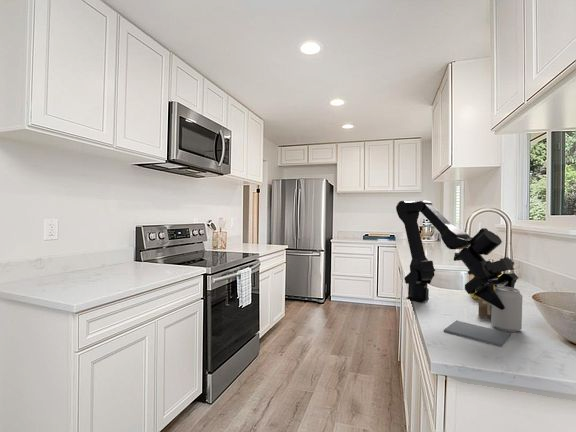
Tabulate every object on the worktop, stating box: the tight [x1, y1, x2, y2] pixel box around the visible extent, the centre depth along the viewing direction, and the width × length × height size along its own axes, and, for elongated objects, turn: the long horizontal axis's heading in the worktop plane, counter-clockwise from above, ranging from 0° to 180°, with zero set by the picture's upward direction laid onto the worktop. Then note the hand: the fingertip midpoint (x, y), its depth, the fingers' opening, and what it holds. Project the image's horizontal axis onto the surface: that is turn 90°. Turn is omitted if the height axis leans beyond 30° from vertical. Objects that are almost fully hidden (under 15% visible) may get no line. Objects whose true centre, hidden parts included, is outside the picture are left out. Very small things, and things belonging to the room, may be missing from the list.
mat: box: [443, 319, 511, 348], centre depth 91 cm, size 14×11×1 cm
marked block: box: [477, 298, 492, 319], centre depth 106 cm, size 6×6×6 cm
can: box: [490, 286, 523, 333], centre depth 95 cm, size 8×8×12 cm
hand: (511, 307), depth 94 cm, fingers closed on can, 7 cm apart
